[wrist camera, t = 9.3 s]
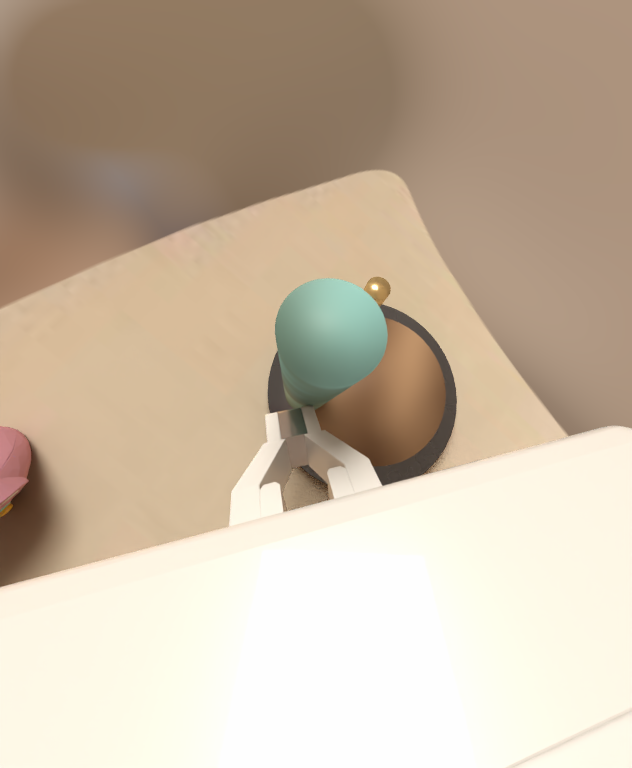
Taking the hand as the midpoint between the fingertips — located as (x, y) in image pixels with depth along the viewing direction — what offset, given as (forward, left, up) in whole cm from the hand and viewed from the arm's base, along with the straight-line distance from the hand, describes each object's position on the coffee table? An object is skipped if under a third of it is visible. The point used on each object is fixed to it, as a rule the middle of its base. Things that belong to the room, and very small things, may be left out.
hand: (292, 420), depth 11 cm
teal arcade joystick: (+3, -5, -5) cm, 8 cm away
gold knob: (+9, -5, -7) cm, 12 cm away
